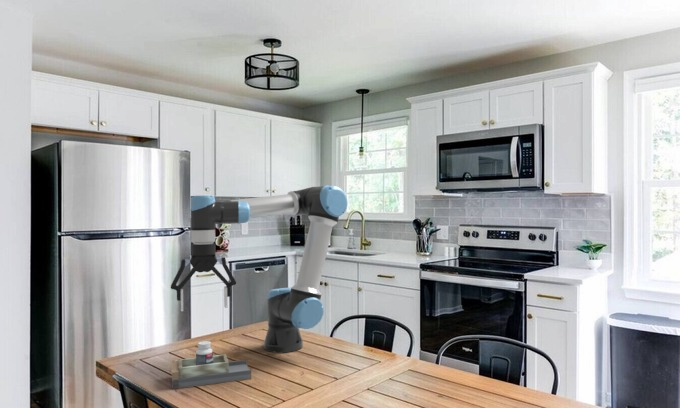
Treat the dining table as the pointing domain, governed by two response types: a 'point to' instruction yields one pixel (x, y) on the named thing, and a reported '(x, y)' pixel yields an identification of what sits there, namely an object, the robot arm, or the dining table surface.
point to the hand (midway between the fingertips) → (204, 308)
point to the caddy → (203, 367)
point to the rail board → (236, 372)
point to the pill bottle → (204, 353)
